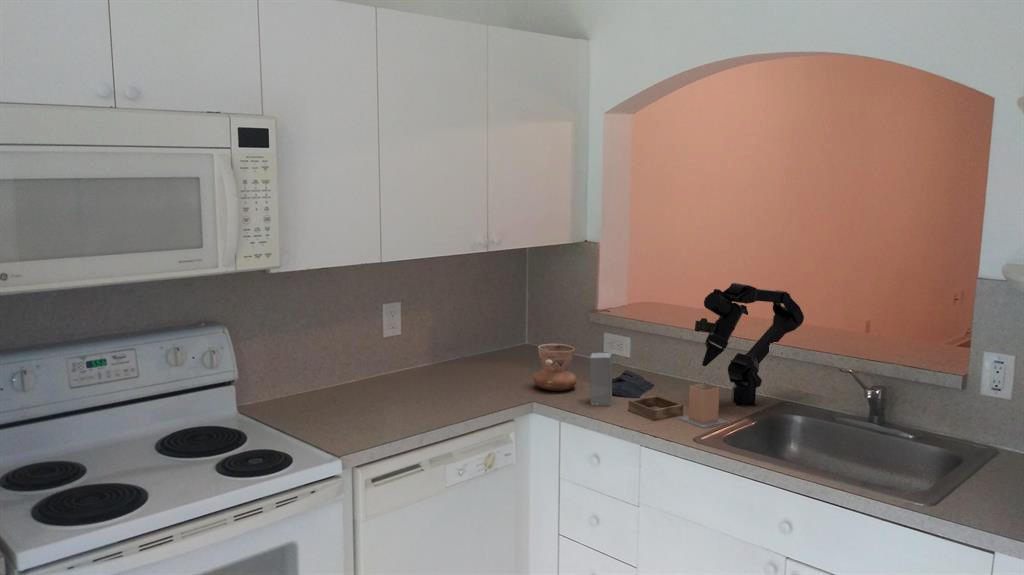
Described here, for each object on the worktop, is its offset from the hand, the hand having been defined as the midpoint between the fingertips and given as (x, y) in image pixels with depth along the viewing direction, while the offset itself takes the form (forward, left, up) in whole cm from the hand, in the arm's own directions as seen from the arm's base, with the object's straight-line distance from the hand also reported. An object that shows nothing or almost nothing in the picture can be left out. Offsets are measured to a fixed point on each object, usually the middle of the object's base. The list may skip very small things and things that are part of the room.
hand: (703, 365), depth 248 cm
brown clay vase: (+45, -20, -14) cm, 51 cm away
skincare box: (+31, -3, -14) cm, 34 cm away
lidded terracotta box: (+2, +14, -13) cm, 19 cm away
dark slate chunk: (+21, -19, -14) cm, 32 cm away
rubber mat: (+2, +14, -14) cm, 20 cm away
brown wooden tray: (+15, +7, -14) cm, 22 cm away
